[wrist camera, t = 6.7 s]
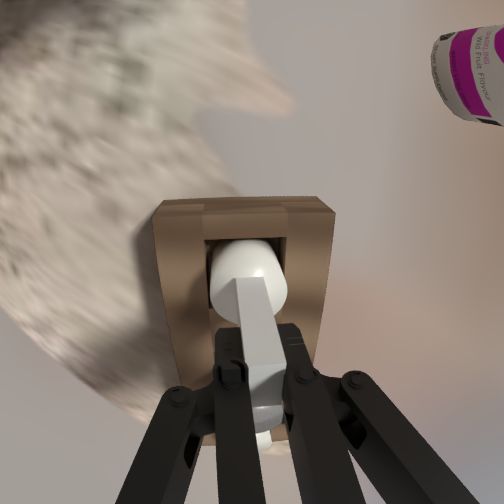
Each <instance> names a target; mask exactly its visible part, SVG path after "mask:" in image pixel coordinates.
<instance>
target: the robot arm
mask: <svg viewBox="0 0 504 504" xmlns="http://www.w3.org/2000/svg"><path fill="white" fill-rule="evenodd" d="M236 304H237V324H238V327H229V328H219V329H218V331H217V332H216V334H215V364H214V366H213V369H212V372H213V381H212V382H211V383H210V384H209V385H207V386H206V387H204V388H201V389H198V390H194V391H192V390H191V389H190V388H187V387H184V386H176V387H172V388H170V389H168V390H167V391H165V393H164V394H163V395H162V398H161V400H160V402H159V404H158V406H157V409H156V411H155V413H154V415H153V418H152V420H151V422H150V424H149V427H148V429H147V431H146V433H145V436H144V438H143V440H142V442H141V445H140V447H139V449H138V451H137V454H136V456H135V459H134V461H133V463H132V465H131V468H130V470H129V472H128V474H127V477H126V479H125V481H124V484H123V486H122V488H121V491H120V493H119V495H118V498H117V500H116V503H115V504H184V501H185V498H186V495H187V492H188V488H189V485H190V482H191V478H192V475H193V472H194V468H195V465H196V462H197V458H198V455H199V451H200V448H201V445H202V442H203V438H204V436H205V435H209V434H212V433H215V438H216V462H217V481H218V498H219V504H266V501H265V493H264V487H263V481H262V474H261V467H260V460H259V453H258V446H257V439H256V432H255V425H254V418H253V410H252V407H265V406H275V405H281V403H282V401H283V405H284V410H283V417H282V424H284V423H285V426H286V431H287V435H288V440H289V445H290V449H291V454H292V459H293V463H294V468H295V472H296V477H297V482H298V486H299V491H300V496H301V500H302V504H366V502H365V499H364V496H363V493H362V490H361V487H360V484H359V481H358V478H357V475H356V473H355V470H354V466H353V463H352V461H351V458H350V455H349V452H348V450H349V451H350V453H351V454H352V456H353V457H354V459H355V460H356V461H357V463H358V464H359V466H360V467H361V469H362V470H363V472H364V473H365V474H366V476H367V477H368V479H369V480H370V482H371V483H372V484H373V486H374V487H375V489H376V490H377V491H378V493H379V494H380V496H381V497H382V498H383V500H384V501H385V503H386V504H480V503H479V502H478V501H477V500H476V499H475V498H474V496H473V495H472V494H471V493H470V492H469V490H468V489H467V488H466V487H465V486H464V485H463V483H462V482H461V481H460V480H459V479H458V478H457V476H456V475H455V474H454V473H453V472H452V471H451V470H450V468H449V467H448V466H447V465H446V464H445V462H444V461H443V460H442V459H441V458H440V457H439V456H438V454H437V453H436V452H435V451H434V450H433V449H432V447H431V446H430V445H429V444H428V443H427V442H426V440H425V439H424V438H423V437H422V436H421V435H420V434H419V433H418V431H417V430H416V429H415V428H414V427H413V425H412V424H411V423H410V422H409V421H408V420H407V419H406V417H405V416H404V415H403V414H402V413H401V412H400V411H399V410H398V408H397V407H396V406H395V405H394V404H393V402H392V401H391V400H390V399H389V398H388V397H387V396H386V394H385V393H384V392H383V391H382V390H381V389H380V388H379V386H378V385H377V384H376V383H375V382H374V381H373V380H372V378H371V377H370V376H369V375H367V374H366V373H364V372H361V371H349V372H347V373H346V374H344V375H343V377H342V378H336V377H328V376H325V375H322V374H320V372H319V371H318V370H317V369H315V368H314V367H313V365H312V362H311V359H310V356H309V354H308V351H307V348H306V345H305V343H304V340H303V338H302V334H301V331H300V329H299V328H298V327H297V326H296V325H295V324H294V323H284V324H276V322H275V318H274V314H273V311H272V307H271V303H270V300H269V296H268V292H267V288H266V285H265V281H264V277H242V278H236Z"/></svg>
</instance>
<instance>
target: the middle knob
mask: <svg viewBox="0 0 504 504" xmlns="http://www.w3.org/2000/svg"><path fill="white" fill-rule="evenodd" d="M252 410H253V418H254V425H255V432H256V434H257V433H262V432H266V431H268V430H271V429H273V428H275V427H276V426H278V425H279V424H280V423H281V422H282V417H283V408H282V404H281V405H275V406H265V407H252Z"/></svg>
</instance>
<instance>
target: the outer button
mask: <svg viewBox="0 0 504 504" xmlns="http://www.w3.org/2000/svg"><path fill="white" fill-rule="evenodd" d="M256 439H257V446H258V452H261V451H264V450H266V449H268V448H269V447H270V446H271V444H272V441H271V435H270V430H268V431H266V432H262V433H257V434H256Z"/></svg>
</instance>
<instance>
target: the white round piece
mask: <svg viewBox="0 0 504 504" xmlns="http://www.w3.org/2000/svg"><path fill="white" fill-rule="evenodd" d="M242 277H264V281H265V285H266V288H267V292H268V296H269V300H270V303H271V307H272V311H273V314H274V315H275V314H276V313H277V312H278V311H279V310H280V309H281V308H282V306H283V305H284V303H285V300H286V297H287V284H286V280H285V278H284V275H283V273H282V270H281V268H280V265H279V263H278V260H277V257H276V255H275V252H274V250H273V247H272V245H271V244H270V242H269V241H268V240H267V239H266V238H237V239H220V240H219V241H218V242H217V244H216V245H215V247H214V249H213V252H212V259H211V281H210V299H211V303H212V305H213V307H214V309H215V310H216V312H217V313H218V314H219V315H220V316H221V317H223V318H224V319H226V320H228V321H230V322H233V323H236V324H237V304H236V278H242Z"/></svg>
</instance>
